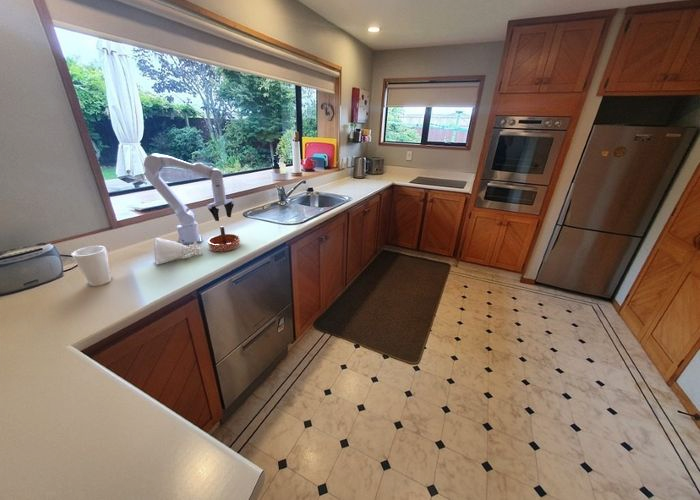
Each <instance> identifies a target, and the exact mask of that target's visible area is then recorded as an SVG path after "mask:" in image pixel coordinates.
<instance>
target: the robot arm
mask: <svg viewBox="0 0 700 500" xmlns="http://www.w3.org/2000/svg"><path fill="white" fill-rule="evenodd" d="M143 167H144V171H145V177H146V180H147V181H148V182H149V183H150V184H151V185H152V187H153V188H154V189H155V190H156V191H157V192H158V193H159V195H160V196H161V197H162V198H163V199H164V200H165V201H166V203H167V204H168V205H169V207H171V208H172V210H174V213H175V215H176V217H177V218H178V221H179V223H180V224H179V225H176V230H177V233H178V241H179V243H180V244H183V245H188V244H194V242H197V243H200V242H202V238H201V235H200V232H199V226H198V222H197V221H196V220H195V219H196V212H195V211H194V210H192V209H191V208H189V207H188V206H187V205H186V204H184V203H183V201H181V199H180V197H178V196H177V194H176V193H175V192H174V191H173V190H172V188H171V187H170V186H169V185H168V184H167V183H166V181H165V180H164V179H163V178H162V177H161V174H162V170H163V168H168V167H176V168H179V169H183V170H187V171H191V172H192V174H193V175H195V176H198V177H201V178H205V179H210V181H211V191H212V196H213V202H210V203H207V204H206V207H207V208H206V209H207V210H208V211H209V212H210V213H211V215H212V217H213V218H214V222H215V221H216V222H219V221H220V216H219V212H220V209H219V208H217V207H221V206H224V210H225V213H226V217H227V218H231V217H232V212H233V208H234V206H235V205H234V204H235V203H234V199H233V198H227V197H226V189H225V183H224V179H223V178H224V176H223V175H224V173H223V171H222V170H221V169H220V168H218V167H214V166H212V165H211V166H208V165H205V164H203V163H202V162H195V163H190V162H187V161H184V160H181V159H178V158H176V157H174V156H170V155H166V154H161V153H158V152H154V153H151V154H150V155H147V156H146V157H145V158H144V161H143Z"/></svg>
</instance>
